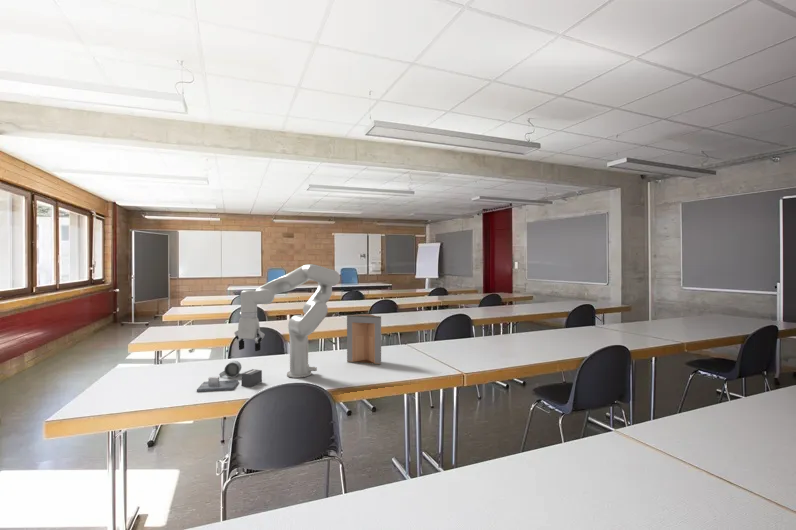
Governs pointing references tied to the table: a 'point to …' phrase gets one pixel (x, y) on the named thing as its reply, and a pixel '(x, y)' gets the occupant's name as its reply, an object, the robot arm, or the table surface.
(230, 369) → the ceramic mug
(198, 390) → the plate
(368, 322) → the cabinet
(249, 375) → the dark grey block
